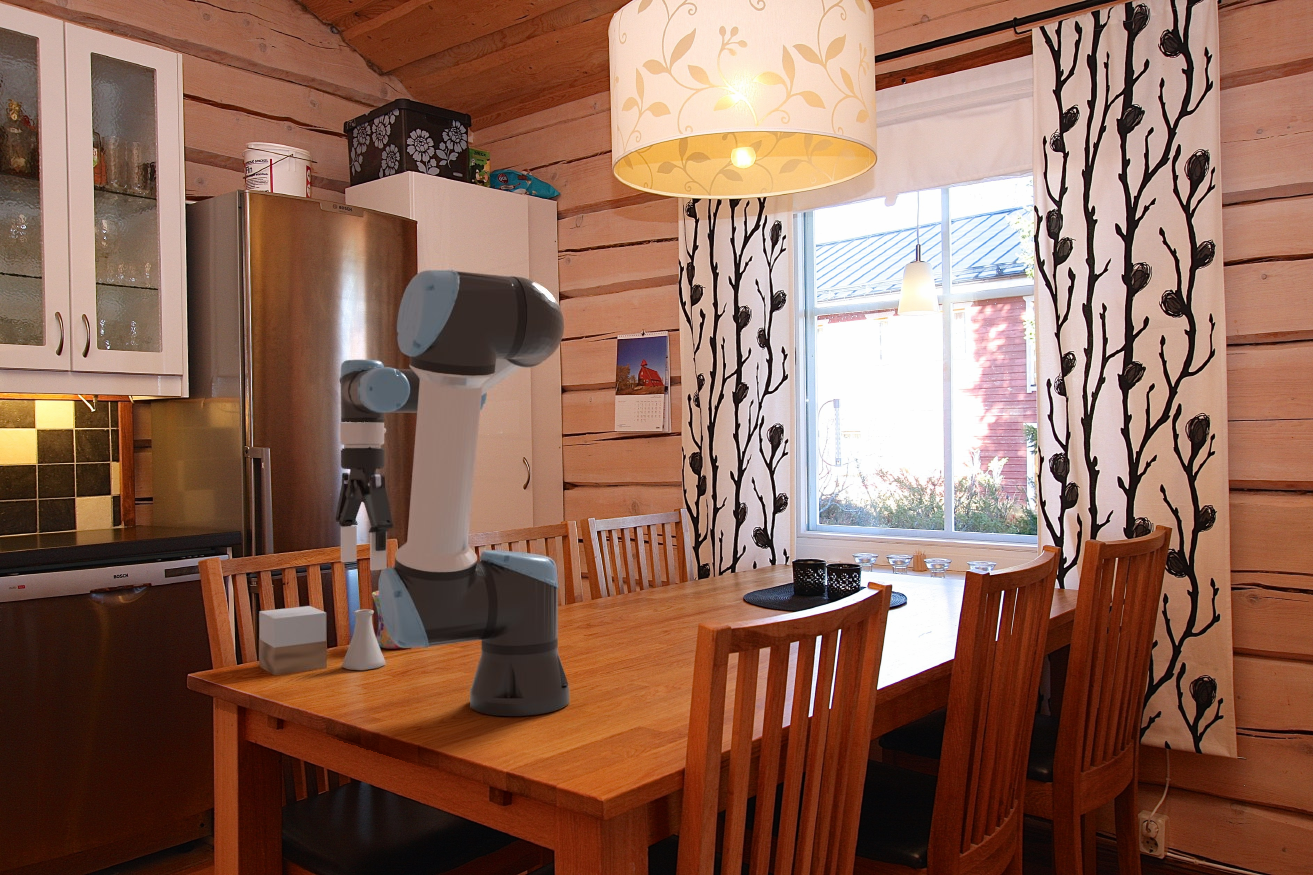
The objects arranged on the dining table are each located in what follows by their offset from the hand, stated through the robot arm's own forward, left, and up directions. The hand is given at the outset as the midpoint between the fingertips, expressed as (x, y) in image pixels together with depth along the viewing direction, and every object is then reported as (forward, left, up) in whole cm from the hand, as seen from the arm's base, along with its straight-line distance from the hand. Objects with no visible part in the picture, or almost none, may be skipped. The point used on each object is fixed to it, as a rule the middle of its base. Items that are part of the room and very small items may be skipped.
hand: (363, 565), depth 175 cm
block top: (+8, +10, -13) cm, 18 cm away
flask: (0, 0, -18) cm, 18 cm away
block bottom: (+8, +10, -18) cm, 22 cm away
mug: (+13, -13, -18) cm, 26 cm away
